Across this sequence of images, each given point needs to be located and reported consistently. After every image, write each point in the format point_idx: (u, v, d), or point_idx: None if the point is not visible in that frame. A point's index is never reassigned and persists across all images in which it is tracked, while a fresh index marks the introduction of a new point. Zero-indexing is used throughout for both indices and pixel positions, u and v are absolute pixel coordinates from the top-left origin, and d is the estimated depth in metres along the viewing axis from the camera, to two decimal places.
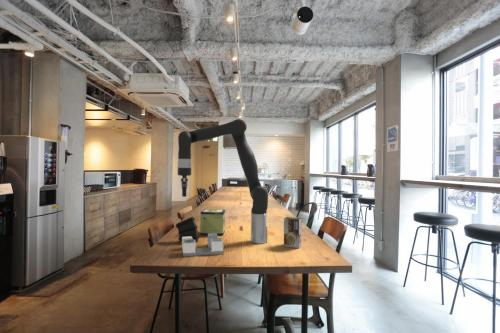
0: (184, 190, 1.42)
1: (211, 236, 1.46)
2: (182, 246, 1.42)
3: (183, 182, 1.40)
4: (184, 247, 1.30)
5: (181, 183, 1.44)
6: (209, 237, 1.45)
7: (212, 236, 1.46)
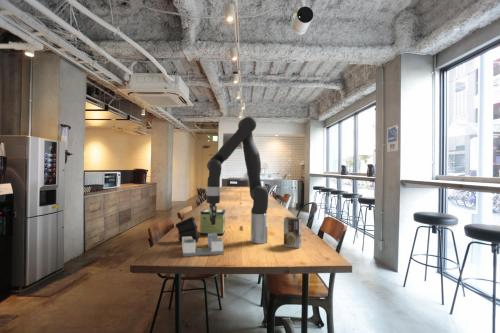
0: (213, 218, 1.43)
1: (211, 236, 1.46)
2: (182, 246, 1.42)
3: (213, 211, 1.41)
4: (184, 247, 1.30)
5: (210, 211, 1.45)
6: (209, 237, 1.45)
7: (212, 236, 1.46)
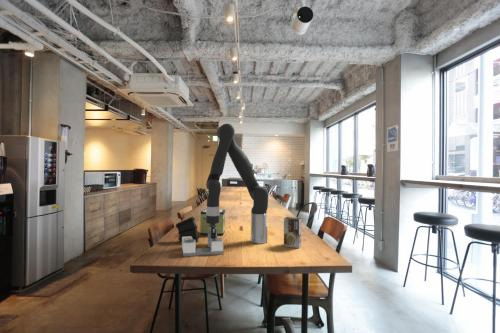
0: None
1: None
2: (182, 246, 1.42)
3: (212, 233, 1.42)
4: (184, 247, 1.30)
5: (210, 232, 1.45)
6: (209, 237, 1.45)
7: (212, 236, 1.46)
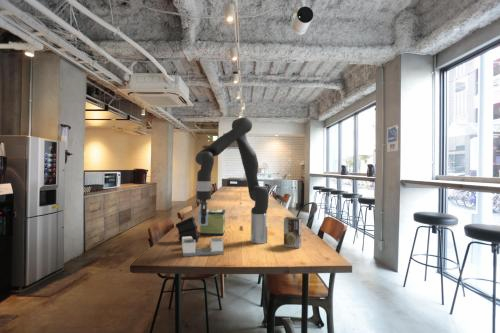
0: (203, 217, 1.32)
1: None
2: (182, 246, 1.42)
3: (203, 210, 1.30)
4: (184, 247, 1.30)
5: (200, 209, 1.33)
6: (199, 214, 1.33)
7: (202, 213, 1.33)
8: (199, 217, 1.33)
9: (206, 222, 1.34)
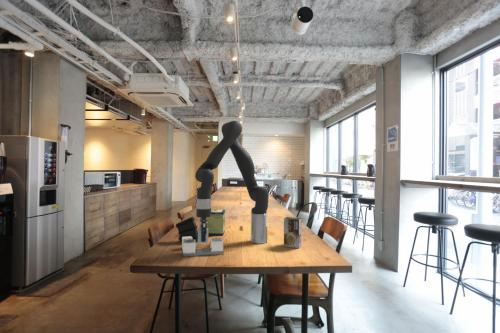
0: (203, 235, 1.32)
1: None
2: (182, 246, 1.42)
3: (203, 228, 1.29)
4: (184, 247, 1.30)
5: (200, 227, 1.32)
6: (199, 232, 1.32)
7: (202, 231, 1.33)
8: (199, 235, 1.32)
9: (206, 240, 1.33)
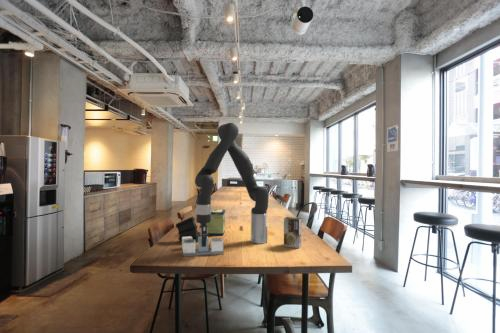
0: (204, 240, 1.30)
1: None
2: (182, 246, 1.42)
3: (203, 232, 1.28)
4: (184, 247, 1.30)
5: (200, 232, 1.31)
6: (199, 241, 1.32)
7: None
8: (199, 243, 1.32)
9: (206, 248, 1.33)
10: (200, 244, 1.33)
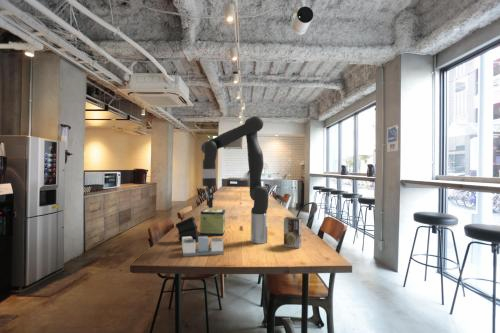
0: (210, 201, 1.39)
1: (201, 239, 1.33)
2: (182, 246, 1.42)
3: (210, 193, 1.38)
4: (184, 247, 1.30)
5: (207, 194, 1.41)
6: (199, 241, 1.32)
7: (203, 239, 1.33)
8: (199, 243, 1.32)
9: (206, 248, 1.33)
10: (200, 244, 1.33)
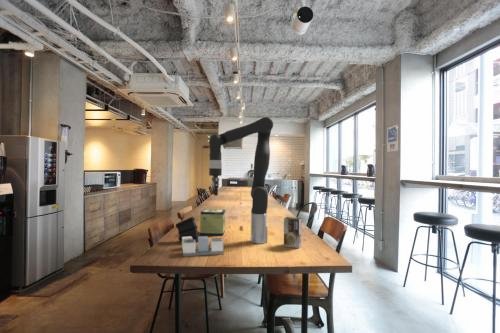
0: (216, 189, 1.52)
1: (201, 239, 1.33)
2: (182, 246, 1.42)
3: (215, 182, 1.51)
4: (184, 247, 1.30)
5: (213, 183, 1.54)
6: (199, 241, 1.32)
7: (203, 239, 1.33)
8: (199, 243, 1.32)
9: (206, 248, 1.33)
10: (200, 244, 1.33)
